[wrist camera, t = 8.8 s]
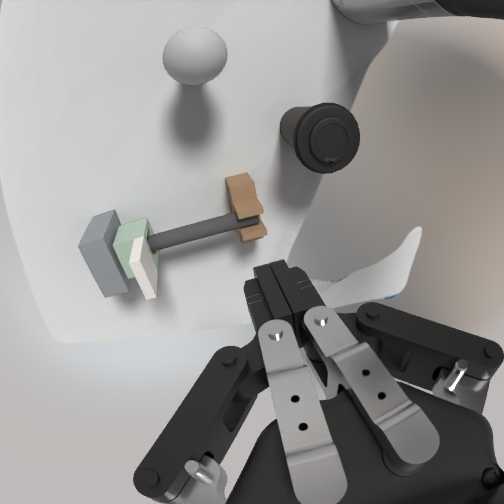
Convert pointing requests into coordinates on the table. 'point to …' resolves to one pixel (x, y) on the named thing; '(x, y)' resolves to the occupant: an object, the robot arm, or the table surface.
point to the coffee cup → (322, 136)
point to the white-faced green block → (138, 255)
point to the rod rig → (169, 234)
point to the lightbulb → (195, 55)
